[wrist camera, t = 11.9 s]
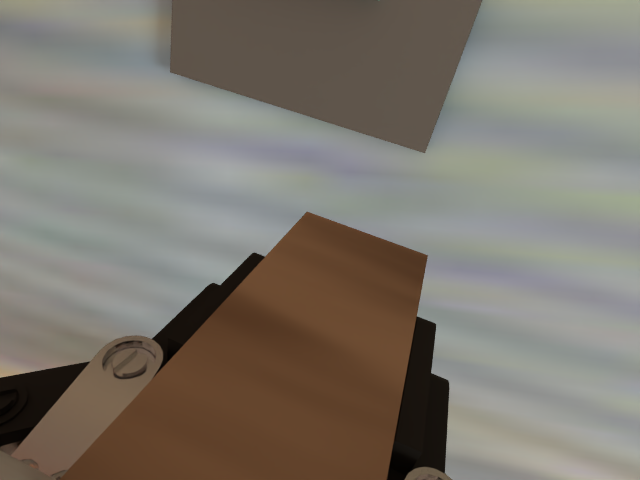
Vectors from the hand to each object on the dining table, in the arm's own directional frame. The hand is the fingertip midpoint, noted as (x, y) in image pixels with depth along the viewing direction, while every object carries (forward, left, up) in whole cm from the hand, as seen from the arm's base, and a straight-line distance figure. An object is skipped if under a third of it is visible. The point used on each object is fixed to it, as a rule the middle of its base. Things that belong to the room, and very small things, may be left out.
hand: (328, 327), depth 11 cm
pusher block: (0, 0, -2) cm, 2 cm away
